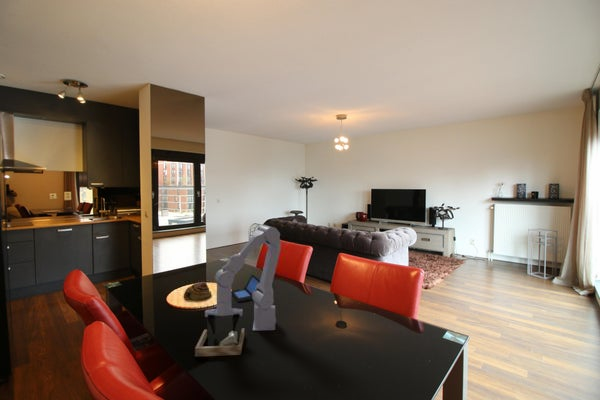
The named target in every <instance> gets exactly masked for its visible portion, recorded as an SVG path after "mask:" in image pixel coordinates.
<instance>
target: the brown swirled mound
mask: <svg viewBox="0 0 600 400" xmlns="http://www.w3.org/2000/svg"><path fill="white" fill-rule="evenodd" d="M212 296H213V294H212V291H210V288H209V286H208V284H207V282H205V281H200V282H196V283H193V284H191V285H190V286H189V287H187V288H186V289H185V292H184V293H183V298H184V300H186V301H189V300H191V301H197V302H199V301H206V300H208V299H209V298H211V297H212Z"/></svg>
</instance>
